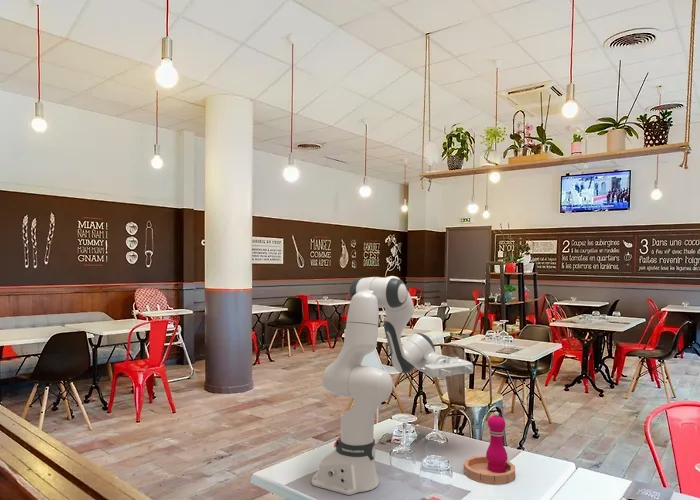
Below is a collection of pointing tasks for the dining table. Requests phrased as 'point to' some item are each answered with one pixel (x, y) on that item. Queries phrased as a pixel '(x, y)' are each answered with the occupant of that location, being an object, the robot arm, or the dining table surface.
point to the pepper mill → (496, 444)
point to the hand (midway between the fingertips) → (461, 372)
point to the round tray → (487, 471)
